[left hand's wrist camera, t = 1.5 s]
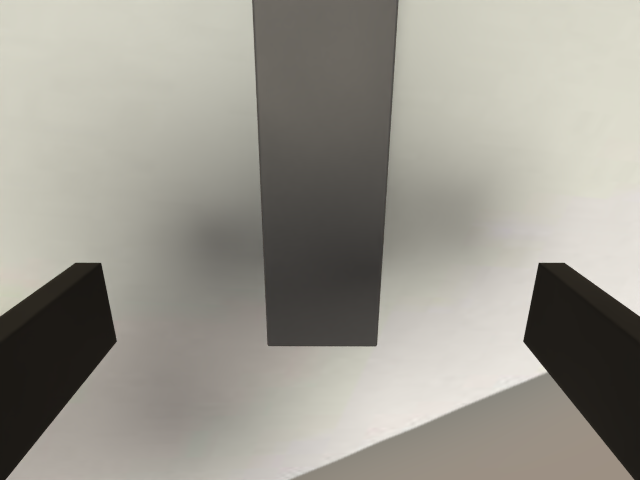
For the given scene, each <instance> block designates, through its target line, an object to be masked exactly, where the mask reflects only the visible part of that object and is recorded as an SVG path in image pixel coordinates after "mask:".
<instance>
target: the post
mask: <svg viewBox="0 0 640 480" xmlns="http://www.w3.org/2000/svg"><path fill="white" fill-rule="evenodd" d="M252 5H253V27H254V50H255V72H256V95H257V117H258V140H259V162H260V184H261V207H262V229H263V252H264V274H265V297H266V319H267V341H268V346H376V345H377V336H378V320H379V304H380V288H381V272H382V256H383V240H384V224H385V208H386V192H387V176H388V160H389V144H390V127H391V111H392V95H393V79H394V63H395V47H396V31H397V15H398V0H252Z"/></svg>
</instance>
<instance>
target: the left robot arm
mask: <svg viewBox="0 0 640 480" xmlns="http://www.w3.org/2000/svg"><path fill="white" fill-rule="evenodd" d="M116 342H117V340H116V335H115V330H114V325H113V320H112V315H111V310H110V305H109V300H108V295H107V290H106V285H105V280H104V275H103V270H102V265H101V263H75V264H73V265H72V266H71V267H69V268H68V269H66V270H65V271H64V272H62V273H61V274H59V275H58V276H57V277H55V278H54V279H52V280H51V281H49V282H48V283H47V284H45V285H44V286H42V287H41V288H40V289H38V290H37V291H35V292H34V293H33V294H31V295H30V296H28V297H27V298H26V299H24V300H23V301H21V302H20V303H19V304H17V305H16V306H14V307H13V308H12V309H10V310H9V311H7V312H6V313H5V314H3V315H2V316H0V480H6V478H7V477H8V476H9V475H10V473H11V472H12V471H13V470H14V468H15V467H16V466H17V465H18V464H19V462H20V461H21V460H22V459H23V457H24V456H25V455H26V454H27V452H28V451H29V450H30V449H31V447H32V446H33V445H34V444H35V442H36V441H37V440H38V439H39V437H40V436H41V435H42V434H43V432H44V431H45V430H46V429H47V427H48V426H49V425H50V424H51V423H52V421H53V420H54V419H55V418H56V416H57V415H58V414H59V413H60V411H61V410H62V409H63V408H64V406H65V405H66V404H67V403H68V401H69V400H70V399H71V398H72V396H73V395H74V394H75V393H76V391H77V390H78V389H79V388H80V386H81V385H82V384H83V383H84V381H85V380H86V379H87V378H88V377H89V375H90V374H91V373H92V372H93V370H94V369H95V368H96V367H97V365H98V364H99V363H100V362H101V360H102V359H103V358H104V357H105V355H106V354H107V353H108V352H109V350H110V349H111V348H112V347H113V345H114V344H115V343H116ZM523 342H524V343H525V344H526V345H527V347H528V348H529V349H530V350H531V352H532V353H533V354H534V355H535V357H536V358H537V359H538V360H539V362H540V363H541V364H542V365H543V367H544V368H545V369H546V370H547V372H548V373H549V374H550V375H551V377H552V378H553V379H554V380H555V381H556V383H557V384H558V385H559V386H560V388H561V389H562V390H563V391H564V393H565V394H566V395H567V396H568V398H569V399H570V400H571V401H572V403H573V404H574V405H575V406H576V408H577V409H578V410H579V411H580V413H581V414H582V415H583V416H584V418H585V419H586V420H587V421H588V422H589V424H590V425H591V426H592V427H593V429H594V430H595V431H596V432H597V434H598V435H599V436H600V437H601V439H602V440H603V441H604V442H605V444H606V445H607V446H608V447H609V449H610V450H611V451H612V452H613V454H614V455H615V456H616V457H617V459H618V460H619V461H620V462H621V464H622V465H623V466H624V467H625V468H626V470H627V471H628V472H629V473H630V475H631V476H632V477H633V478H634V480H640V316H638V315H637V314H635V313H634V312H633V311H631V310H630V309H628V308H627V307H626V306H624V305H623V304H621V303H620V302H619V301H617V300H616V299H614V298H613V297H612V296H610V295H609V294H607V293H606V292H605V291H603V290H602V289H600V288H599V287H598V286H596V285H595V284H593V283H592V282H591V281H589V280H588V279H586V278H585V277H583V276H582V275H581V274H579V273H578V272H576V271H575V270H574V269H572V268H571V267H569V266H568V265H567V264H565V263H539V265H538V270H537V275H536V280H535V285H534V290H533V295H532V300H531V305H530V310H529V315H528V320H527V325H526V330H525V335H524V340H523Z"/></svg>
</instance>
